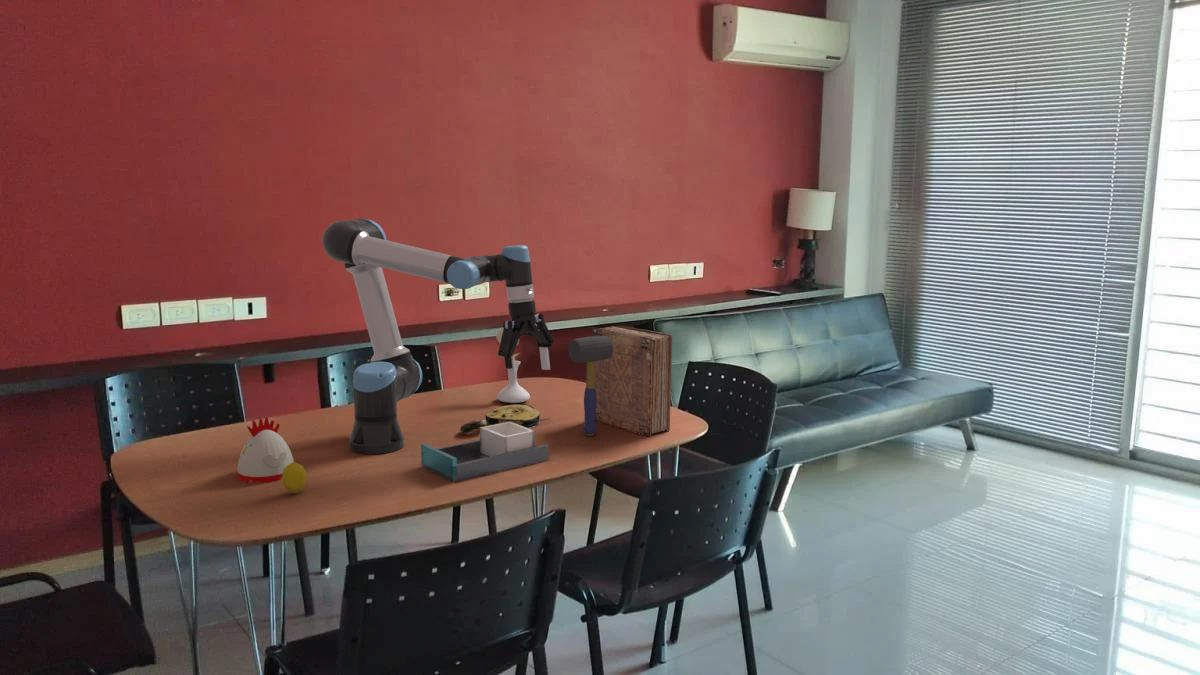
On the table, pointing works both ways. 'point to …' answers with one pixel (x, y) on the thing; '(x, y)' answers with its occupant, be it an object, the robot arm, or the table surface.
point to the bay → (475, 460)
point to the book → (634, 380)
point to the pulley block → (507, 417)
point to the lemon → (294, 477)
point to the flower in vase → (512, 385)
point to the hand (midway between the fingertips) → (529, 374)
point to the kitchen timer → (263, 454)
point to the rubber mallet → (590, 371)
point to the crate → (505, 438)
